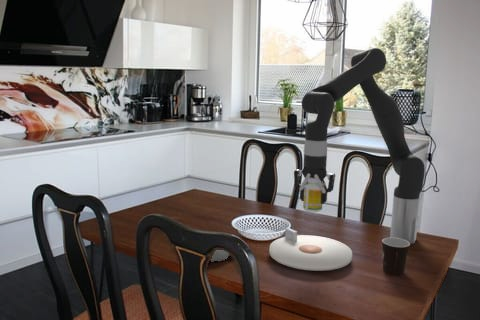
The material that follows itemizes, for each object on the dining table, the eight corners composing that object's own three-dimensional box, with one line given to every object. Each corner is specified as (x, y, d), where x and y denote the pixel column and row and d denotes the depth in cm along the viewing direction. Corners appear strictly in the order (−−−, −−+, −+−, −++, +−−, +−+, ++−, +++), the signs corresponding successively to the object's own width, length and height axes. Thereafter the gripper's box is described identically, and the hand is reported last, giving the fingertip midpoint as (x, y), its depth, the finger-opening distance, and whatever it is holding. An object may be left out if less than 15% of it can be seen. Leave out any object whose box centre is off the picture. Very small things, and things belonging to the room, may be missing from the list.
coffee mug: (386, 263, 162) (388, 235, 160) (411, 270, 157) (414, 241, 155) (371, 274, 153) (373, 245, 151) (397, 282, 148) (400, 252, 146)
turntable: (315, 234, 184) (316, 221, 183) (369, 260, 160) (370, 245, 159) (253, 247, 170) (254, 233, 169) (303, 277, 146) (304, 261, 145)
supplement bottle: (299, 209, 162) (300, 176, 160) (312, 205, 166) (313, 174, 164) (313, 213, 158) (315, 180, 155) (326, 210, 162) (327, 177, 159)
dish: (197, 265, 158) (197, 251, 157) (190, 250, 171) (190, 236, 170) (239, 261, 162) (240, 247, 161) (229, 246, 175) (229, 233, 174)
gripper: (339, 153, 158) (337, 202, 162) (298, 149, 165) (296, 196, 168) (333, 157, 152) (330, 208, 155) (290, 152, 158) (288, 201, 162)
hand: (313, 201), depth 162 cm, fingers closed on supplement bottle, 6 cm apart
